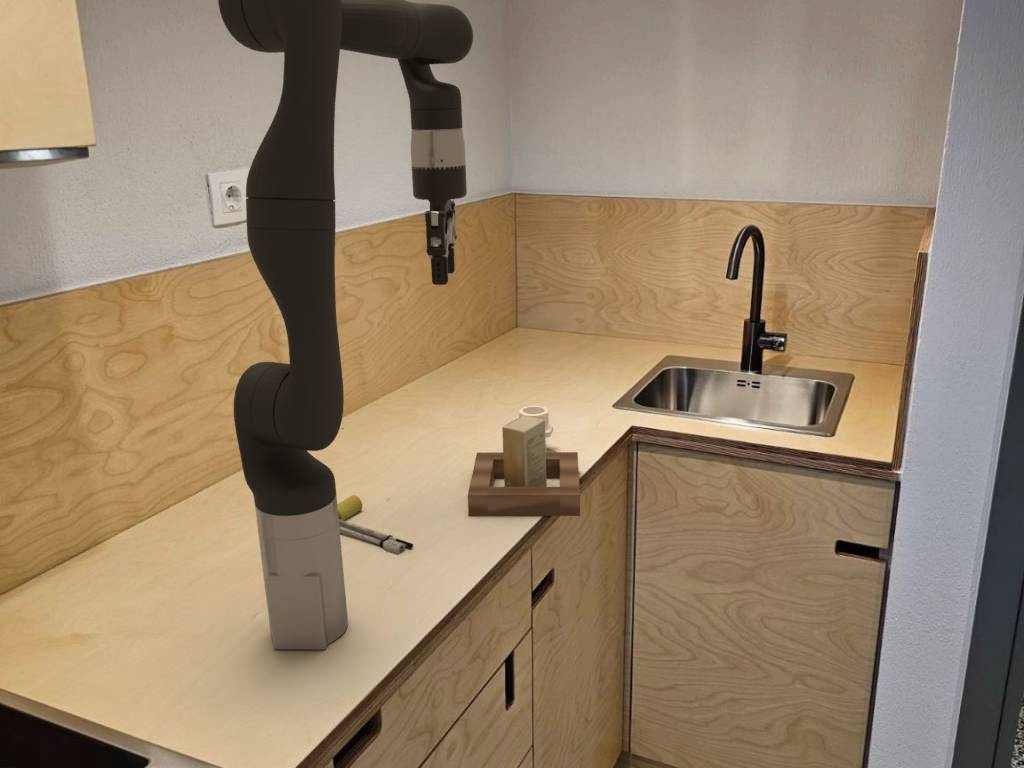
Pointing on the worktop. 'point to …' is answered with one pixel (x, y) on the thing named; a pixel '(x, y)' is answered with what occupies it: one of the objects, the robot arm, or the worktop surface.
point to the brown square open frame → (524, 489)
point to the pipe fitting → (538, 416)
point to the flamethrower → (354, 506)
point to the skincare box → (524, 453)
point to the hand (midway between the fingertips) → (444, 278)
